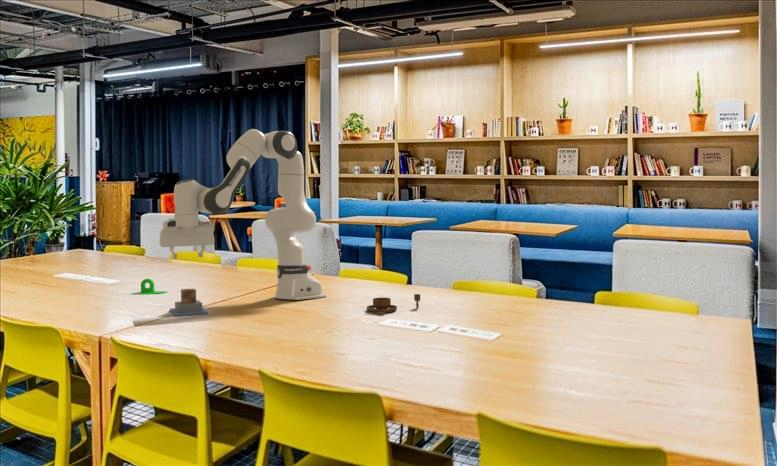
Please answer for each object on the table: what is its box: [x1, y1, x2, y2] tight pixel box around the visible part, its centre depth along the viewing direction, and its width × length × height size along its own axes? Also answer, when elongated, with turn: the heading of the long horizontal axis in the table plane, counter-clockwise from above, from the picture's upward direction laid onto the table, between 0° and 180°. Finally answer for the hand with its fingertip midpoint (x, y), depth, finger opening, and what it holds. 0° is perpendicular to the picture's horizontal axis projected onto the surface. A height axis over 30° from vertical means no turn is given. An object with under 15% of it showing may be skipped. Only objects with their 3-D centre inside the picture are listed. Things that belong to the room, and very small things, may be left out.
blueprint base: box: [169, 299, 209, 317], centre depth 257 cm, size 12×16×4 cm
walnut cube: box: [180, 288, 197, 304], centre depth 257 cm, size 5×5×5 cm
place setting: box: [366, 293, 421, 315], centre depth 259 cm, size 18×20×6 cm
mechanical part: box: [137, 278, 169, 295], centre depth 303 cm, size 12×6×8 cm, turn 91°
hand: (187, 257), depth 256 cm, fingers open, 8 cm apart
